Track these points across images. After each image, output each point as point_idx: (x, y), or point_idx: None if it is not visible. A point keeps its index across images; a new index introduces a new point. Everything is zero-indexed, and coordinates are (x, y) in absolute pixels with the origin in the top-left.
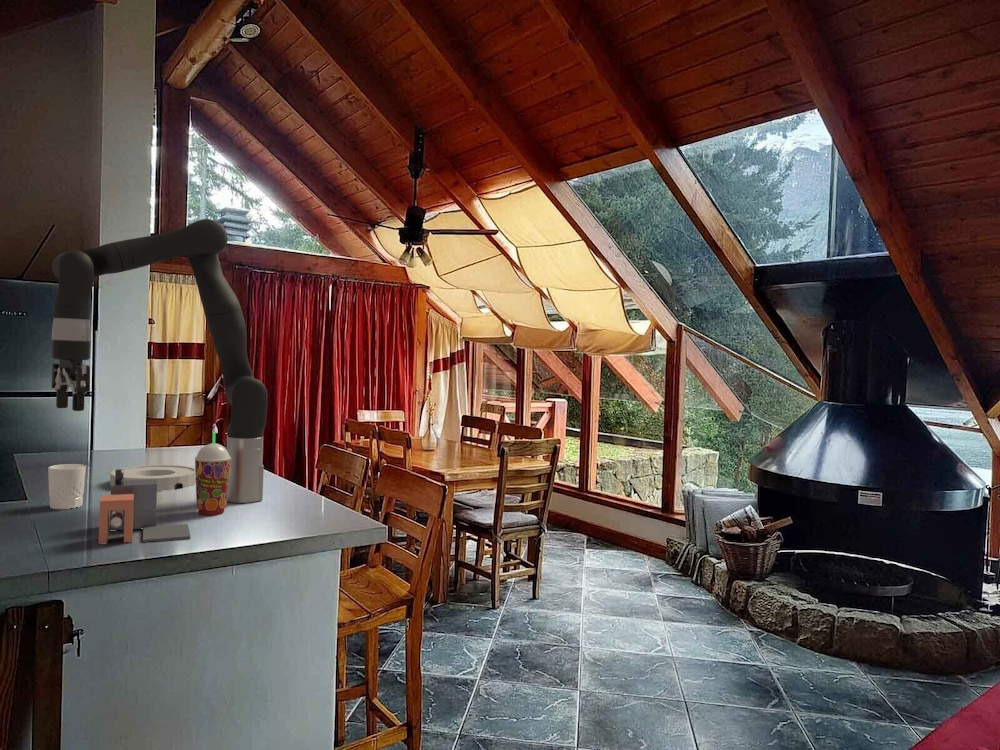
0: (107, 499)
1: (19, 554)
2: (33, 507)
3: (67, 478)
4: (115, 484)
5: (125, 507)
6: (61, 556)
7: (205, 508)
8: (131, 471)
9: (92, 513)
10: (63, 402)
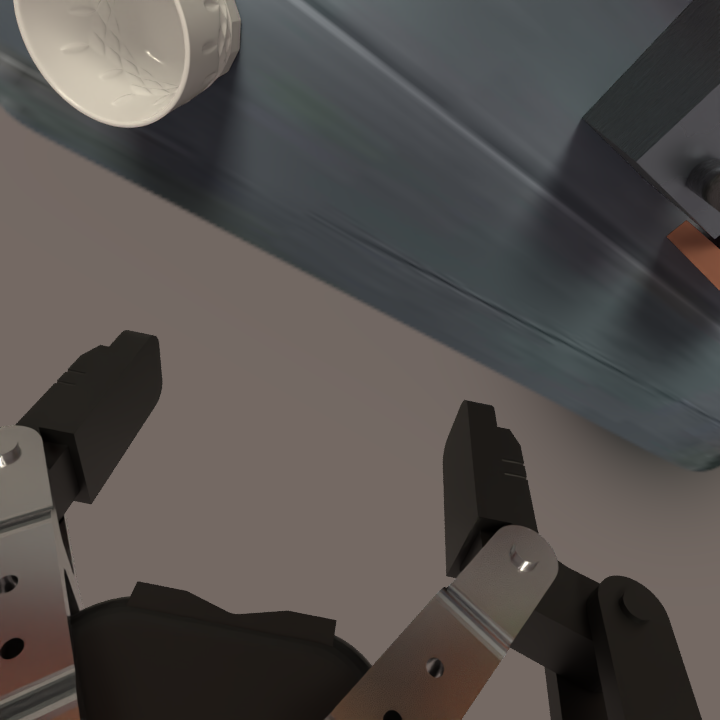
0: None
1: (592, 402)
2: None
3: (200, 75)
4: (710, 205)
5: None
6: (694, 376)
7: None
8: None
9: (370, 32)
10: (137, 390)
